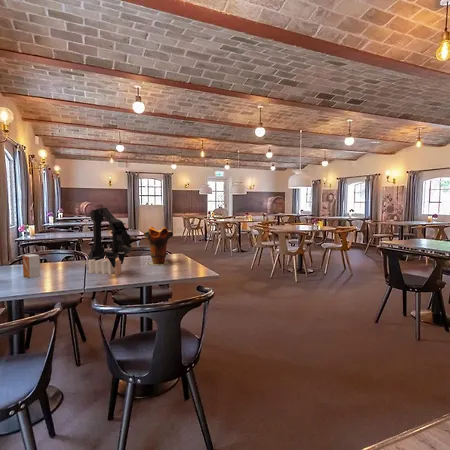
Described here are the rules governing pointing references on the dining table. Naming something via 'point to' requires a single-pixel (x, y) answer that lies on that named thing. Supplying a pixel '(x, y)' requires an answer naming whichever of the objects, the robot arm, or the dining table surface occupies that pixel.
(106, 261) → the domino
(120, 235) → the robot arm
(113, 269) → the domino
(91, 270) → the domino
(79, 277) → the dining table surface
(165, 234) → the decorative vase
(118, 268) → the domino
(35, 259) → the small box
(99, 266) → the domino
